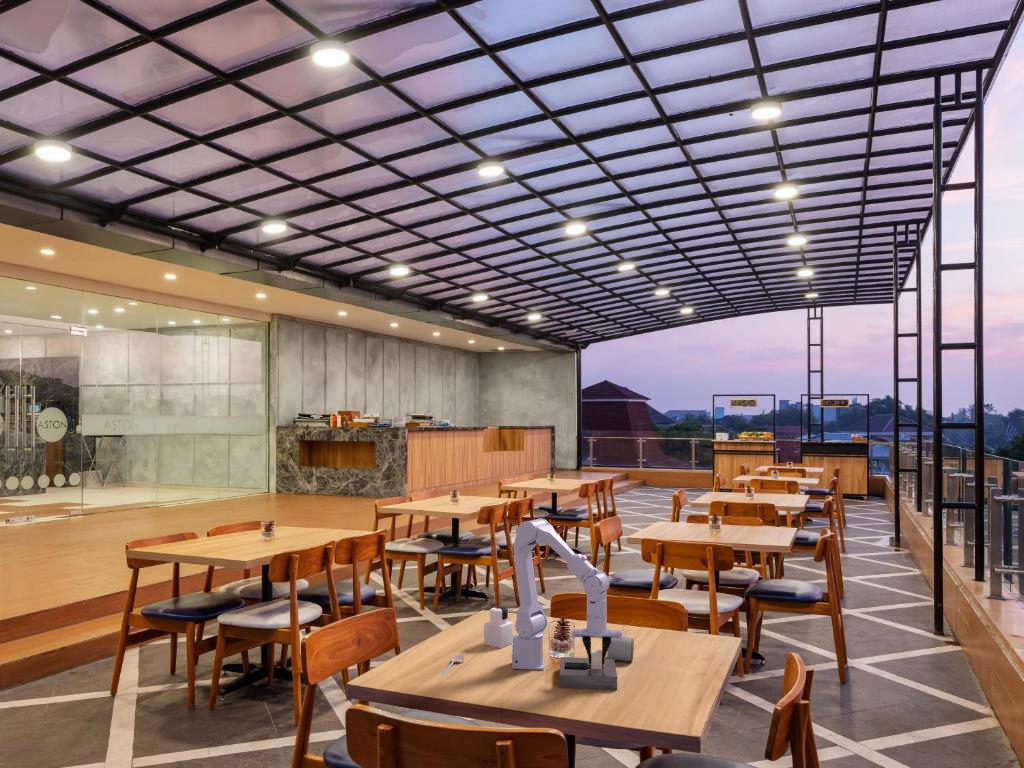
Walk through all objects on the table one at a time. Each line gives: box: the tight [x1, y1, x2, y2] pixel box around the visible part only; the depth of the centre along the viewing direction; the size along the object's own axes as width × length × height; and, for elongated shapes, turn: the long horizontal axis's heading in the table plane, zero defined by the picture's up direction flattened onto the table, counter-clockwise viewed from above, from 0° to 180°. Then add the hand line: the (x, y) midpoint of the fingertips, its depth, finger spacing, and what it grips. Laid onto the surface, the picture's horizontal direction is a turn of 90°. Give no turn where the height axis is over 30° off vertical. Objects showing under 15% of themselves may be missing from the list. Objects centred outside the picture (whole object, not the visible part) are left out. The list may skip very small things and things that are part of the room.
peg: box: [591, 649, 602, 669], centre depth 219 cm, size 6×6×8 cm
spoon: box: [440, 654, 465, 678], centre depth 228 cm, size 4×21×2 cm, turn 165°
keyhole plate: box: [559, 656, 618, 691], centre depth 220 cm, size 16×16×4 cm
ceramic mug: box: [606, 635, 635, 662], centre depth 239 cm, size 11×8×8 cm
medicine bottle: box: [483, 606, 514, 649], centre depth 253 cm, size 7×7×12 cm
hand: (596, 663), depth 220 cm, fingers closed on peg, 3 cm apart
